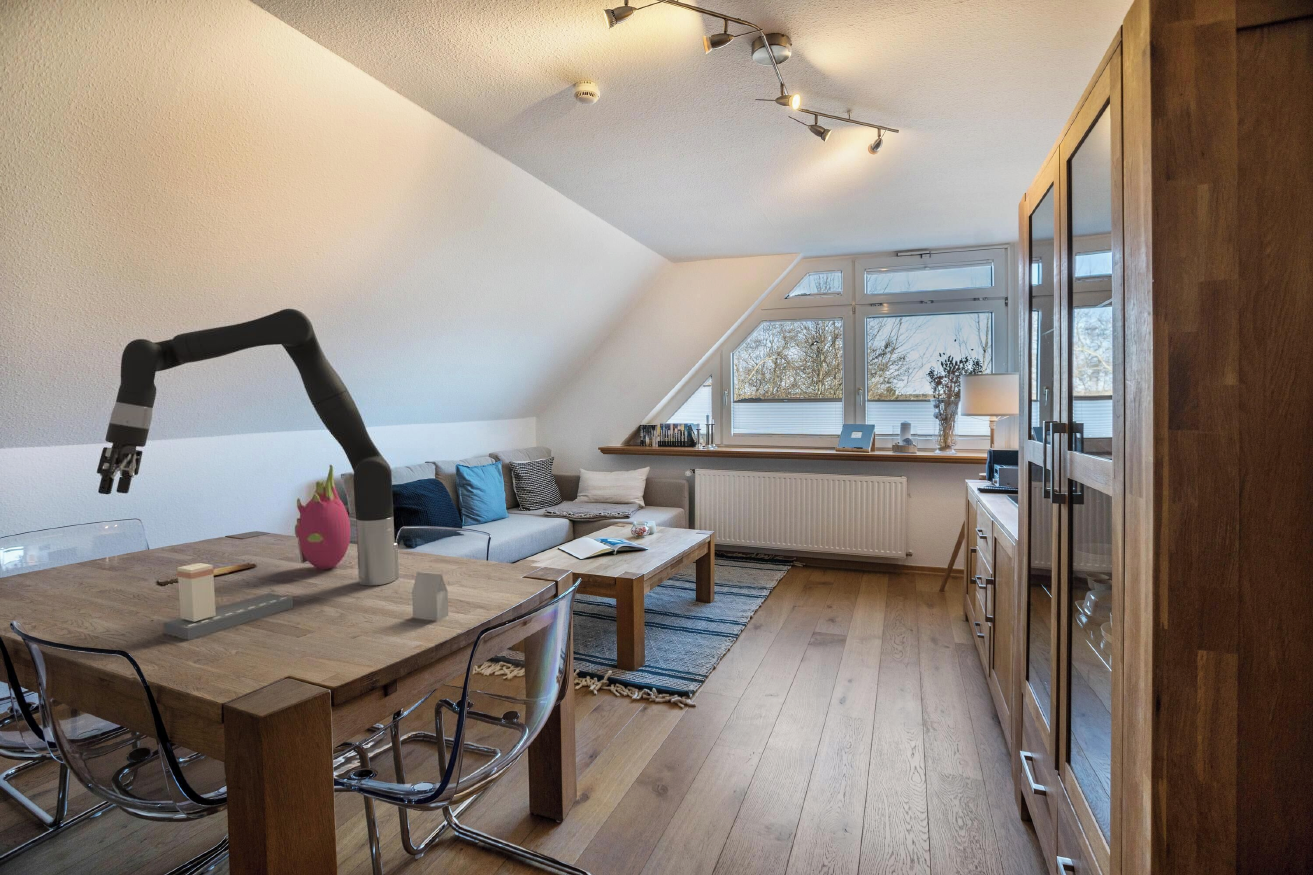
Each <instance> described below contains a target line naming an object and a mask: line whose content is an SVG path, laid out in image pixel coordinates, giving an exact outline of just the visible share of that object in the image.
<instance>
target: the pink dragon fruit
mask: <svg viewBox="0 0 1313 875" xmlns="http://www.w3.org/2000/svg"><path fill="white" fill-rule="evenodd" d="M334 482H335V481H334V467H333V465H332V464H329V469H328V474H327V478H326V481H319V480H318V481H316V483H315V491H314V492H313V496H312V497H311V499H310V500H309V501H308V502H307V503H306V504H305V505H303V504H302V501H301V499H300V498H297V499H296V508H297V510H298V512H299V518H298V517H296V523H295V525H294V535H295V538H298V539H297V546H298V552H299V558H300V564H304V563H306V562H308V563H309V564H310V565H311V566H313V567H314V568H316V569H320V570H328V569H332V568H334V567H336V566H338V564H339V563H340V562H341V561H342V560H343V559H344V557H345V555H346V554H347V551H348V548H349V546H350V542H351V533H352V531H351V522H350V517H349V514H348V512H347V509H346V507H345V505H344V503H343V502H342V500H341V499H340V497H339V494H338V492H337V490H336V486H335V483H334Z"/></svg>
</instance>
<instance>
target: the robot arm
mask: <svg viewBox="0 0 1313 875" xmlns="http://www.w3.org/2000/svg"><path fill="white" fill-rule="evenodd" d="M272 345H274V346H275V345H276V346H277V345H281V346H282V347H283V349H284V350H285V352H287V354H288V355H289V357H290V359H291V360H292V362H293V363H294V365H295V367H296V369H297V370H298V373H299V375H300V378H301V380H302V384H303V386H304V389H305V391H306V395H307V396H308V399H309V400H310V402H311V404H312V407H313V408H314V410H315V412H316V414H317V416H318V417H319V419H320V421H322V423H323V425H324V426H325V428H326V429H327V430H328V432H329V433H330V434H331V435H332V437H333V438H334V439H335V440H336V441H337V443H338V444H339V445H340V446H341V448H342V450H343V451H344V453H345V455H346V457H347V460H348V462H349V463H350V466H351V468H352V471H353V476H352V478H353V479H352V482H353V497H354V498H353V499H354V500H353V501H354V511H355V526H356V548H357V571H358V574H357V575H358V584H359V585H361V586H379V585H381V586H382V585H385V584H389V583H393V582H394V581H396V580H397V579H400V572H399V570H400V569H399V546H398V543H397V542H395V526H394V525H395V524H394V504H393V503H394V498H393V477H392V476H393V475H392V474H393V473H392V468H391V466H390V464H389V463H388V461H387V460H386V459H385V458H384V456H383V455H382V453H381V452H380V450H379V449H378V447H377V446H376V445H375V443H374V442H373V440H372V439H371V436H370V435H369V433H368V430H367V427H366V425H365V423H364V420H363V418H362V415H361V413H360V411H359V408H358V407H357V405H356V402H355V400H354V398H352V395H351V393H350V391H349V389H348V388H347V386H346V385H345V383H344V382H343V380H342V378H341V377H340V375H339V374H338V373H337V371H336V370H335V369H334V367H333V366H332V365H331V363H330V362H329V360H328V359H327V356H326V355H325V354H324V352H323V350H322V347H321V345H320V342H319V340H318V338H317V335H316V333H315V330H314V328H313V324H312V322H311V320H310V319H309V317H308V316H306V314H305V313H303V312H302V311H301V310H298V309H295V308H284V309H283V308H282V309H281V310H279V311H276V312H273V313H271V314H268V315H266V316H261V317H258V318H256V319H253V320H248V321H244V322H240V323H236V324H230V325H224V326H219V327H212V328H207V329H199V330H194V331H190V332H184V333H180V334H176V335H175V336H173V338H170V339H167V340H161V341H157V342H153V341H151V340H148V339H145V338H138V339H137V338H136V339H133V340H132V341H129V343H128V344H126V346H125V347H124V349H123V352H122V355H121V361H120V385H119V387H118V391H117V396H116V400H115V403H114V406H113V408H112V410H111V414H110V418H109V421H108V426H107V431H106V434H105V439H104V441H105V442H107V443H110V444H111V443H112V445H111V447H108V446H107V447H106V446H103V448H102V451H101V454H100V458H99V462H98V466H97V468H96V469H97V470H96V473H97V474H99V476H100V477H101V478H100V481H99V482H100V483H99V486H98V489H97V490H98V491H97V493H98V494H101V495H110V494H112V491H113V486H114V481H115V477H116V475H117V474H118V472H119V475H120V476H119V478H118V482H117V487H116V493H119V494H128V493H129V491H130V487H131V482H132V479H133V478H134V477H135V476H138V474H139V473H140V472H139V471H140V467H141V462H142V458H143V450H139V449H137V447H138V448H144V447H145V446H146V445H147V440H148V436H149V433H150V432H149V431H150V429H151V428H150V427H151V423H152V418H153V409H154V405H155V400H156V398H157V397H156V396H157V386H156V384H155V378H156V373H157V372H163V371H167V370H169V369H173V368H176V367H179V366H182V365H186V364H191V363H196V362H201V361H207V360H210V359H215V358H221V357H223V356H227V355H231V354H234V353H236V352H240V351H243V350H246V349H247V350H248V349H252V348H257V347H262V346H263V347H264V346H272Z"/></svg>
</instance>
